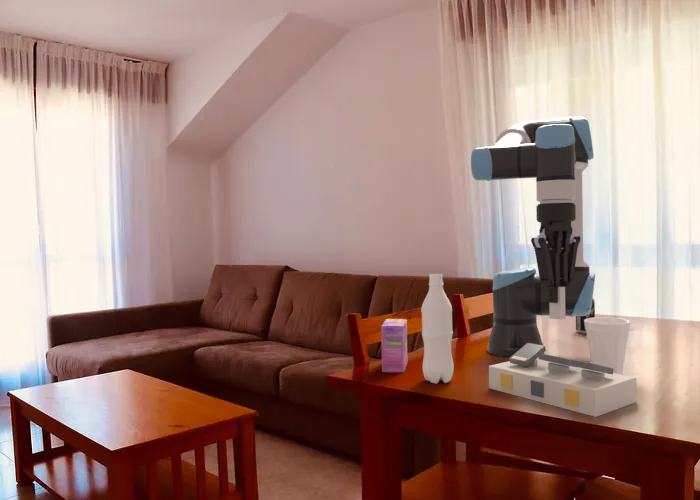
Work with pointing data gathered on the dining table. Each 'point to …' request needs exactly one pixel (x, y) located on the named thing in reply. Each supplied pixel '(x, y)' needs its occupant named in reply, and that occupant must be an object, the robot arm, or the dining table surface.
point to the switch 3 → (592, 367)
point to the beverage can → (580, 319)
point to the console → (564, 386)
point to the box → (394, 345)
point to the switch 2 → (555, 359)
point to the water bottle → (437, 332)
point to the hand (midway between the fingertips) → (557, 318)
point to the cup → (607, 341)
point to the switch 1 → (527, 354)
